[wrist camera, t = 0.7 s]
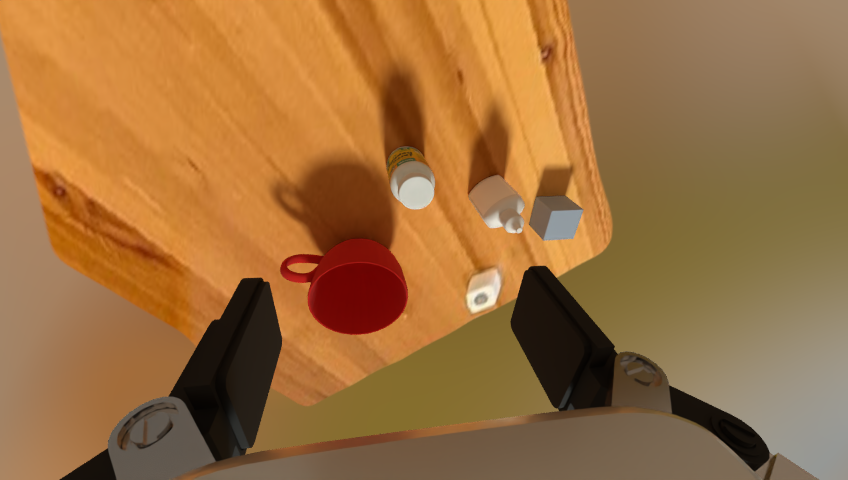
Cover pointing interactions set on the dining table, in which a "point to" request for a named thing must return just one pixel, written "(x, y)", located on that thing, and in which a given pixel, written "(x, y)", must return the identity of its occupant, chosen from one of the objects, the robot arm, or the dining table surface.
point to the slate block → (555, 217)
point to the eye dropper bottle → (498, 204)
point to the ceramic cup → (353, 286)
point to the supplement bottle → (410, 177)
